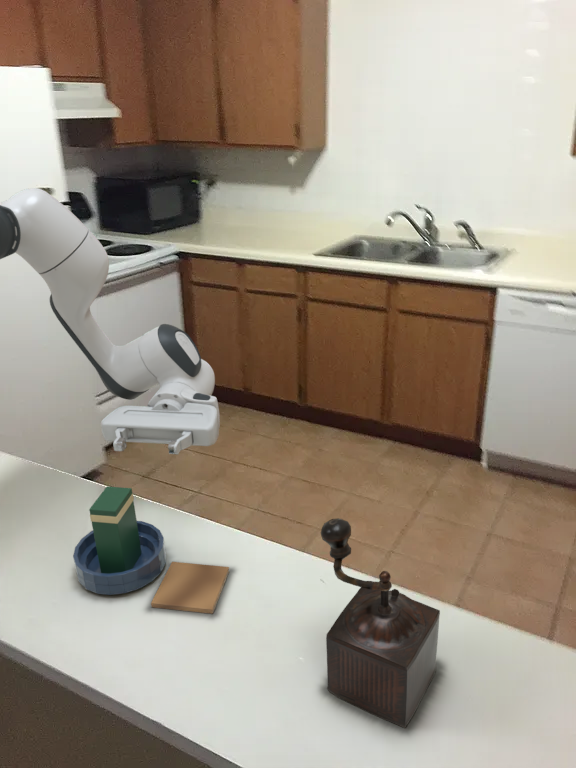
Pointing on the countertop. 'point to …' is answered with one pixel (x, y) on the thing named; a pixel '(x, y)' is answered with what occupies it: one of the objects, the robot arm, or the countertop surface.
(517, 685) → the countertop surface
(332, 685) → the manual coffee grinder
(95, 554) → the bowl
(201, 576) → the cork mat
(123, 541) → the tea packet
